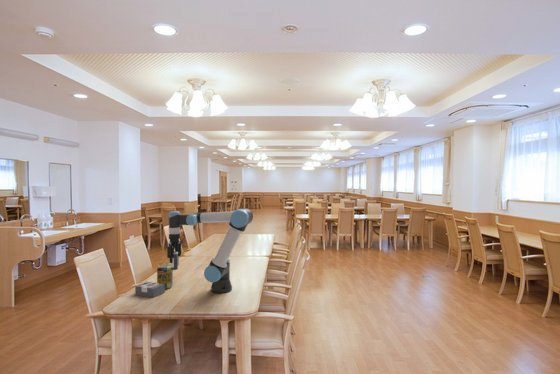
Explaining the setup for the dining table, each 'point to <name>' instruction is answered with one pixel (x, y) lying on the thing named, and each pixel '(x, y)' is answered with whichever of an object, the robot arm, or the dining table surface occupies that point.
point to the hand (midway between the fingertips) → (174, 266)
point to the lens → (175, 261)
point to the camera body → (150, 289)
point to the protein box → (165, 275)
